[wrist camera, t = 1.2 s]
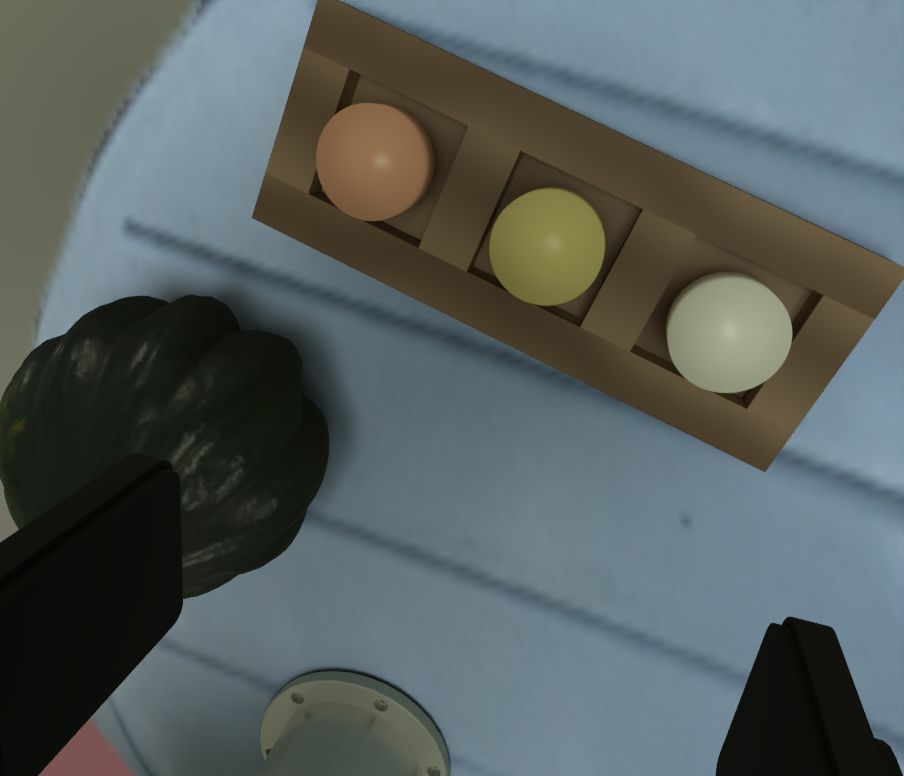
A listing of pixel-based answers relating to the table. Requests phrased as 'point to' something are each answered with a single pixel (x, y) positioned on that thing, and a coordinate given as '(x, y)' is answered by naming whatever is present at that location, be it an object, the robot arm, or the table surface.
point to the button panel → (622, 212)
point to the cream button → (728, 332)
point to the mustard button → (548, 246)
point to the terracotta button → (374, 161)
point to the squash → (171, 426)
